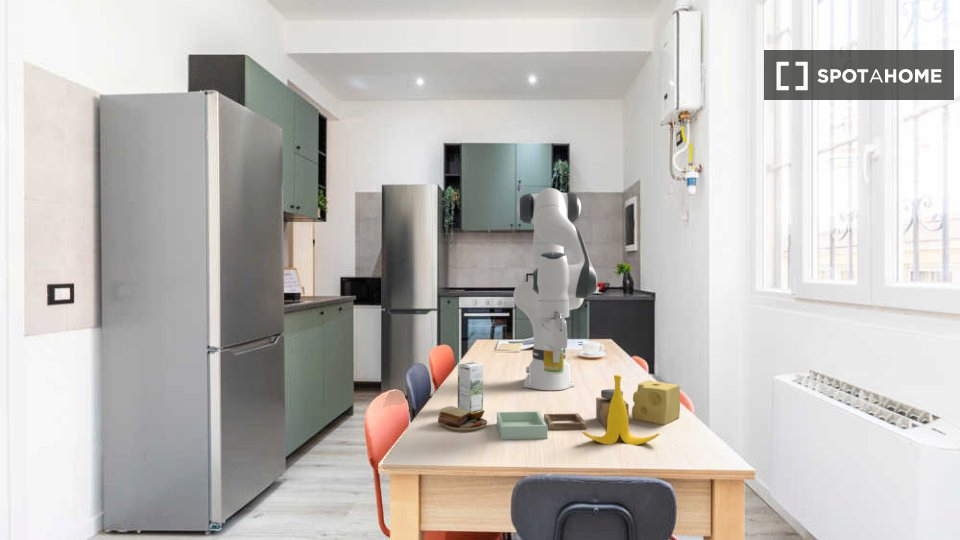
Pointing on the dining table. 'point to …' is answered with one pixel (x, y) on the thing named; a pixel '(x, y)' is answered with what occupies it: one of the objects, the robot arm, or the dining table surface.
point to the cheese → (656, 402)
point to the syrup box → (470, 386)
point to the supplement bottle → (549, 364)
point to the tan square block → (606, 406)
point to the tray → (521, 425)
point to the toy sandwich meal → (461, 419)
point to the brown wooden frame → (565, 426)
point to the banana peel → (618, 421)
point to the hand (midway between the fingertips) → (553, 360)
